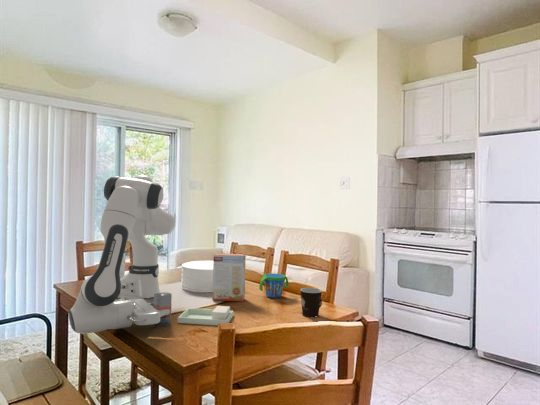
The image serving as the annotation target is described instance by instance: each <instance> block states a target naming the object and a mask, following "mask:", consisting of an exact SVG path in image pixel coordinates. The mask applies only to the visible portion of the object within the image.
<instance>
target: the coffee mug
mask: <svg viewBox="0 0 540 405" xmlns="http://www.w3.org/2000/svg"><path fill="white" fill-rule="evenodd" d="M322 293H323V290H322V289H320V288H315V287H304V288H303V287H302V288H300V300H301V302H300V303H301V314H302V316H303V317H306V318H311V317H313V318H316V317H315V316H318V317H319V313H320V308H321V307H322V305H323V302H322Z"/></svg>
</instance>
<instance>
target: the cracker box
mask: <svg viewBox="0 0 540 405" xmlns="http://www.w3.org/2000/svg"><path fill="white" fill-rule="evenodd" d="M246 255H247V254H245V253H228V252H227V253H225V252H224V253H223V252H221V253H219V252H217V253H215V254H213V261H214V263H213V292H212V301H221V300H223V302H224V301H225V302H240V303H241V302H243V301H244V300H245V298H246V296H245V294H246V293H245V292H246V291H245V290H246Z"/></svg>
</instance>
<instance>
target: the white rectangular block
mask: <svg viewBox="0 0 540 405" xmlns="http://www.w3.org/2000/svg"><path fill="white" fill-rule="evenodd" d="M230 311H231V306H230V305H229V306H228V305H226V306H225V305H217V306H216V307H215V308H214V309H213V311H212V319H221V320H226V319H227V317H228V316H229V314H230Z"/></svg>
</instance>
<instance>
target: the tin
mask: <svg viewBox="0 0 540 405" xmlns="http://www.w3.org/2000/svg"><path fill="white" fill-rule="evenodd" d="M172 295H173V294H172V293H170V292H160V293H156V294H154V297H153V303H154V308H155V309H157V310H163V309H166V308H168V309H169V310H170V313H169V314H168V315H164V316H162V317H160V322H159V323H157V324H152V326H153V328H155V329H156V328H158V327H159V328H162V327H167V326H168V327H169V326H170V325H171V323H172V298H173V297H172Z"/></svg>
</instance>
